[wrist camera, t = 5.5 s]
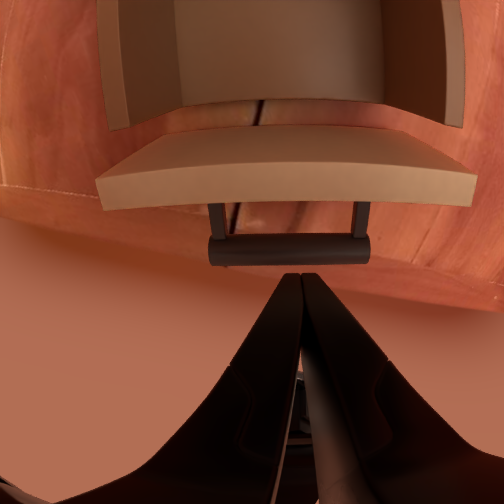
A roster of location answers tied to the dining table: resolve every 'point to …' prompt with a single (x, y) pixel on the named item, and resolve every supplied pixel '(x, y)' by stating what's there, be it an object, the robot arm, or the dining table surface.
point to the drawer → (283, 87)
